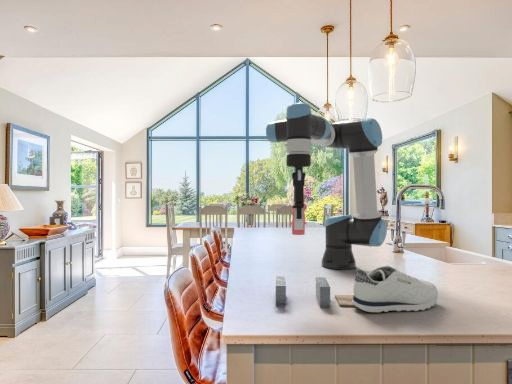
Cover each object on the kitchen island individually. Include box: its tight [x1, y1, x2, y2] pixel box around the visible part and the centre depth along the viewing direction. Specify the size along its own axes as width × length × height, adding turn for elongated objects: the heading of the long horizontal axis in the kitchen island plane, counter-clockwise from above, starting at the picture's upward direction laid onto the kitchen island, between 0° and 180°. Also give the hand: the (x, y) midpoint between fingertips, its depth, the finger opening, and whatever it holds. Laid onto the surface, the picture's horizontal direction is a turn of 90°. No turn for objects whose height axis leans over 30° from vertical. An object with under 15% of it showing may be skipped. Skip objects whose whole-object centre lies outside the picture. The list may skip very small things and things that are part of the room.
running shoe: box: [352, 265, 438, 313], centre depth 108 cm, size 11×29×12 cm, turn 112°
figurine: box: [290, 188, 308, 236], centre depth 114 cm, size 5×5×15 cm
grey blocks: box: [275, 276, 331, 308], centre depth 114 cm, size 12×16×6 cm
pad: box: [334, 294, 357, 308], centre depth 113 cm, size 10×10×1 cm
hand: (298, 228), depth 114 cm, fingers closed on figurine, 5 cm apart
